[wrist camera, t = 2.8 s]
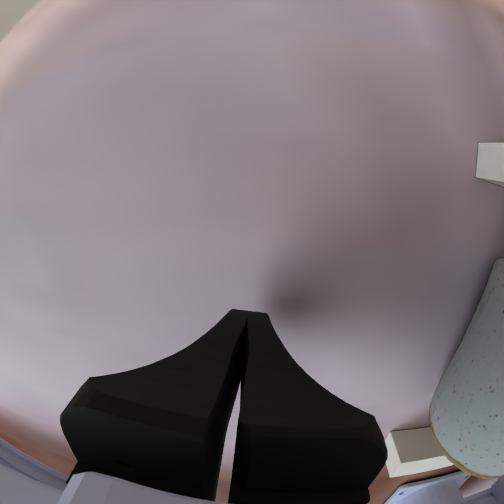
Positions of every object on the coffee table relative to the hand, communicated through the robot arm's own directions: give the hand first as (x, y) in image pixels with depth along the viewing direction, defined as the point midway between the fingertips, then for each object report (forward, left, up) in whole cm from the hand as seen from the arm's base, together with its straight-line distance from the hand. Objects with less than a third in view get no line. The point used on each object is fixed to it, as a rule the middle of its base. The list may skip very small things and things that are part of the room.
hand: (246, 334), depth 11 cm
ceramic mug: (0, -14, -2) cm, 14 cm away
